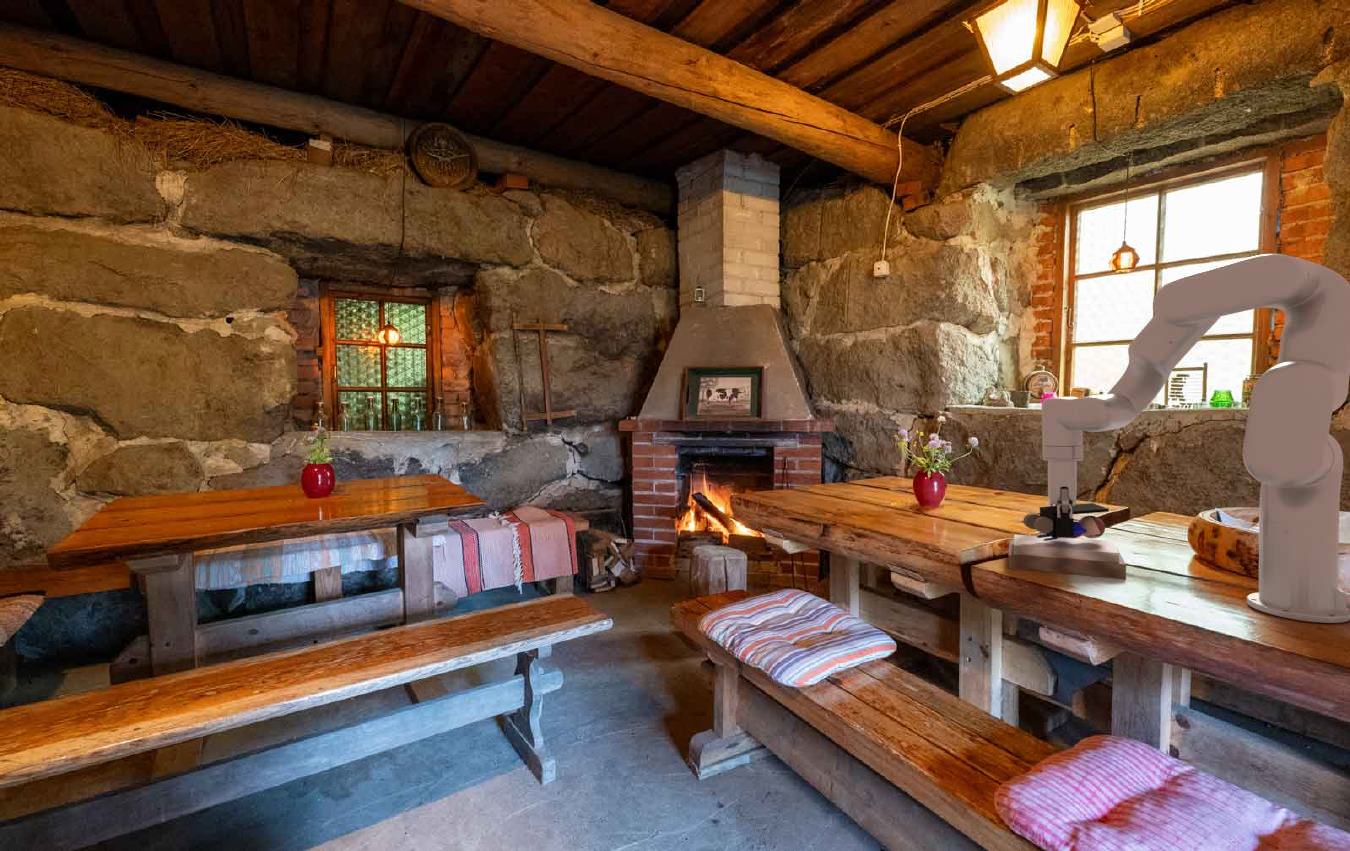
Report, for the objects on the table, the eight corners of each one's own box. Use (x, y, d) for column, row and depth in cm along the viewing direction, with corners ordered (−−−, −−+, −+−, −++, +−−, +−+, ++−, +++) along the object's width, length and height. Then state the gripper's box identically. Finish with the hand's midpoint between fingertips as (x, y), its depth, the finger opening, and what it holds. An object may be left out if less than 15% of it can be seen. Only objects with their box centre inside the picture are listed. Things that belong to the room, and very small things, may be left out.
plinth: (1117, 562, 137) (1117, 540, 136) (1126, 578, 125) (1125, 554, 125) (1010, 553, 147) (1009, 533, 147) (1008, 568, 136) (1008, 546, 135)
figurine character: (1040, 549, 133) (1114, 539, 132) (1035, 515, 133) (1109, 504, 131) (1025, 542, 140) (1095, 533, 138) (1020, 509, 139) (1090, 499, 138)
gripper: (1041, 449, 144) (1043, 523, 145) (1043, 457, 129) (1045, 539, 130) (1079, 449, 141) (1081, 525, 141) (1086, 457, 125) (1087, 542, 126)
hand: (1063, 531), depth 136 cm, fingers closed on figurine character, 8 cm apart
